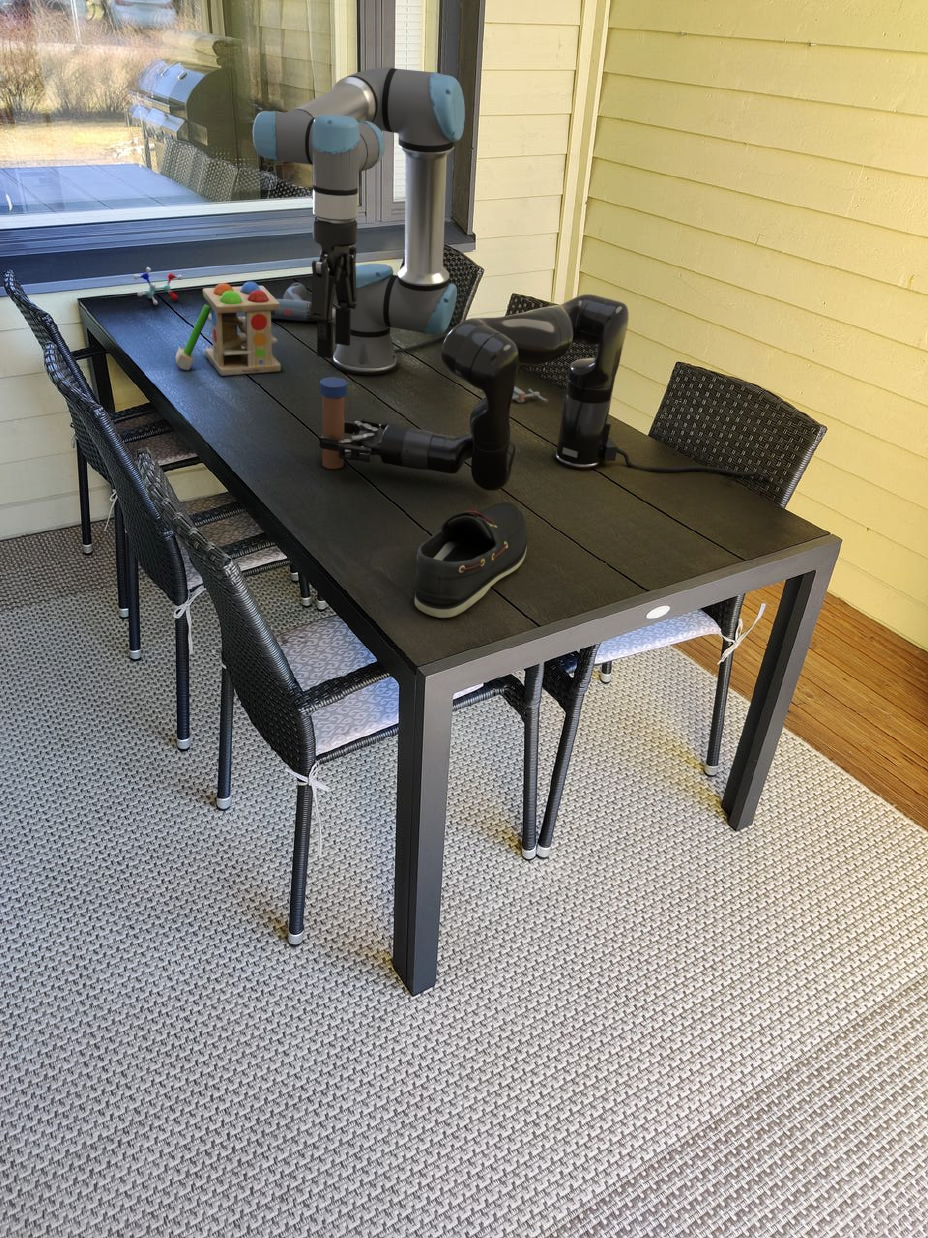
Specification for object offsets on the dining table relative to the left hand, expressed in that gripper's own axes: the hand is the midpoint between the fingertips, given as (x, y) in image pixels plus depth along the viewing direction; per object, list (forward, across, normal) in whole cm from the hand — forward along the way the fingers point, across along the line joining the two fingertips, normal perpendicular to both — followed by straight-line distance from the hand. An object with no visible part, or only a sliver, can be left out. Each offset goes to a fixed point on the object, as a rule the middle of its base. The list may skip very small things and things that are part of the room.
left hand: (334, 349), depth 179 cm
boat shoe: (+23, +26, +37) cm, 51 cm away
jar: (+23, 0, 0) cm, 23 cm away
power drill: (+23, -82, -45) cm, 96 cm away
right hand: (+16, 0, -1) cm, 17 cm away
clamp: (+23, -52, +22) cm, 61 cm away
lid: (+6, 0, 0) cm, 6 cm away
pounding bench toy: (+23, -36, -44) cm, 62 cm away
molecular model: (+23, -70, -84) cm, 111 cm away
